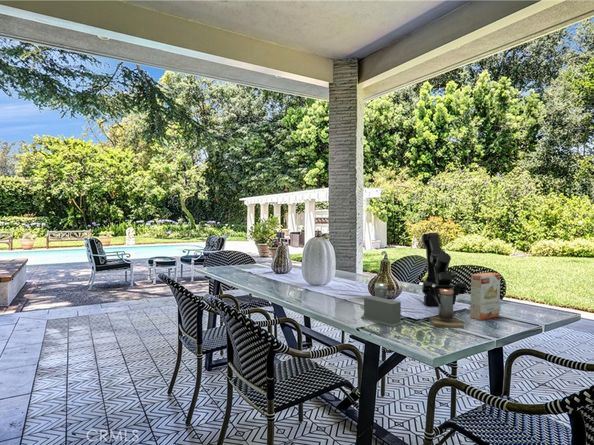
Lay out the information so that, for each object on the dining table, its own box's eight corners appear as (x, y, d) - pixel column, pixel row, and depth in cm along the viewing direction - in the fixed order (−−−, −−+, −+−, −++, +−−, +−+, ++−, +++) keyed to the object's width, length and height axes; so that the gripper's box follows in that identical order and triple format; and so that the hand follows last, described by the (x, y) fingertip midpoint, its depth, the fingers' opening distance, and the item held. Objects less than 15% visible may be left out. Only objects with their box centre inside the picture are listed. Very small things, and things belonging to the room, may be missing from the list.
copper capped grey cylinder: (443, 314, 172) (444, 287, 172) (456, 318, 167) (456, 289, 167) (435, 317, 169) (436, 288, 168) (448, 320, 164) (448, 291, 163)
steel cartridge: (385, 307, 196) (385, 282, 196) (388, 310, 190) (388, 285, 190) (373, 307, 196) (373, 282, 196) (376, 310, 190) (376, 285, 189)
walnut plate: (429, 318, 175) (429, 316, 175) (456, 320, 173) (456, 317, 173) (434, 326, 163) (434, 324, 163) (463, 328, 161) (463, 325, 161)
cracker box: (480, 321, 172) (481, 276, 171) (469, 317, 177) (470, 274, 176) (500, 317, 178) (501, 273, 177) (488, 313, 183) (489, 271, 183)
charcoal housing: (371, 315, 181) (371, 295, 181) (403, 323, 168) (403, 302, 167) (361, 318, 176) (361, 297, 176) (393, 327, 162) (393, 305, 162)
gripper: (423, 264, 173) (427, 293, 162) (465, 265, 170) (472, 295, 159) (420, 278, 181) (424, 306, 170) (460, 279, 178) (467, 308, 167)
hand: (446, 303), depth 166 cm, fingers closed on copper capped grey cylinder, 6 cm apart
